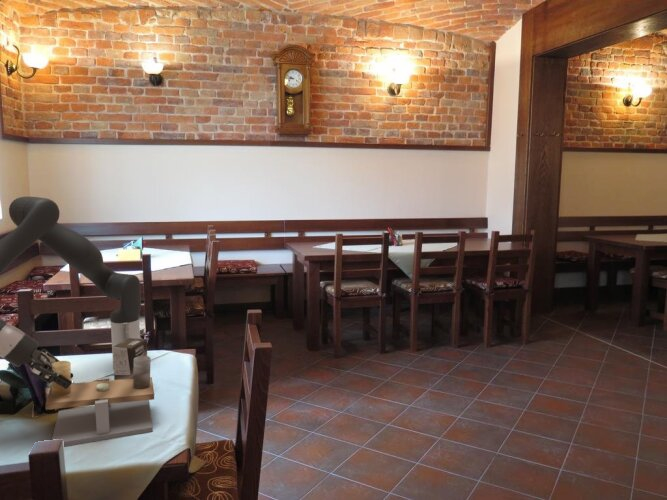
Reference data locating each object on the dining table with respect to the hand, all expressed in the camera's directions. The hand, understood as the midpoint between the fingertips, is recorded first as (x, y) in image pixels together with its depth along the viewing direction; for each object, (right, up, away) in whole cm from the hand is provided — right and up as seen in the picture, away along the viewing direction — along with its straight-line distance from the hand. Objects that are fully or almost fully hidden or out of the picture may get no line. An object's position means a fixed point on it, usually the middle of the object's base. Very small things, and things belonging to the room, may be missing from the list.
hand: (69, 381), depth 139 cm
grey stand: (+7, -13, +5) cm, 15 cm away
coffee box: (+7, -10, +25) cm, 27 cm away
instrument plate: (+7, -4, +3) cm, 9 cm away
